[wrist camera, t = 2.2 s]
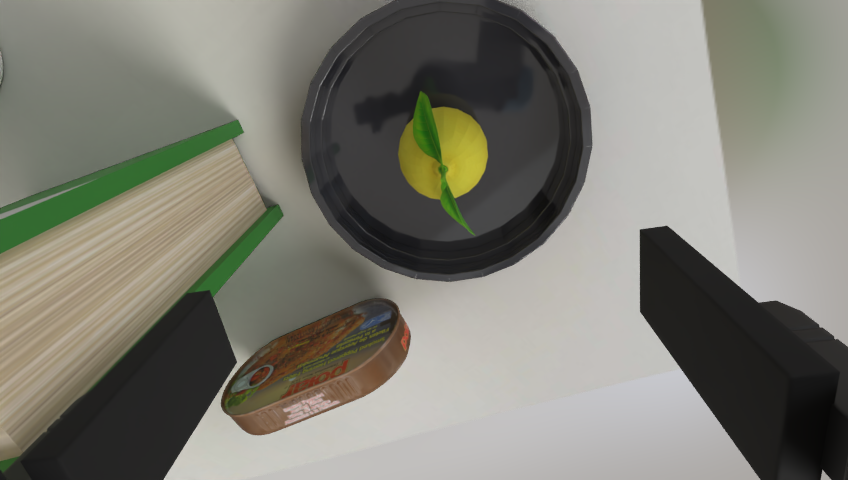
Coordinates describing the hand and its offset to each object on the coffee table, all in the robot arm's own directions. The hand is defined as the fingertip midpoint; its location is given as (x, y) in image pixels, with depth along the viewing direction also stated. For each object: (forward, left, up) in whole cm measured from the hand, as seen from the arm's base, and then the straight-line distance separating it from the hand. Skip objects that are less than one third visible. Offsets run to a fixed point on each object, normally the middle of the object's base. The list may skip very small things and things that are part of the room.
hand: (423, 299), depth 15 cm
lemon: (-1, -1, -21) cm, 21 cm away
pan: (-1, -1, -21) cm, 21 cm away
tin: (+11, +13, -21) cm, 28 cm away
